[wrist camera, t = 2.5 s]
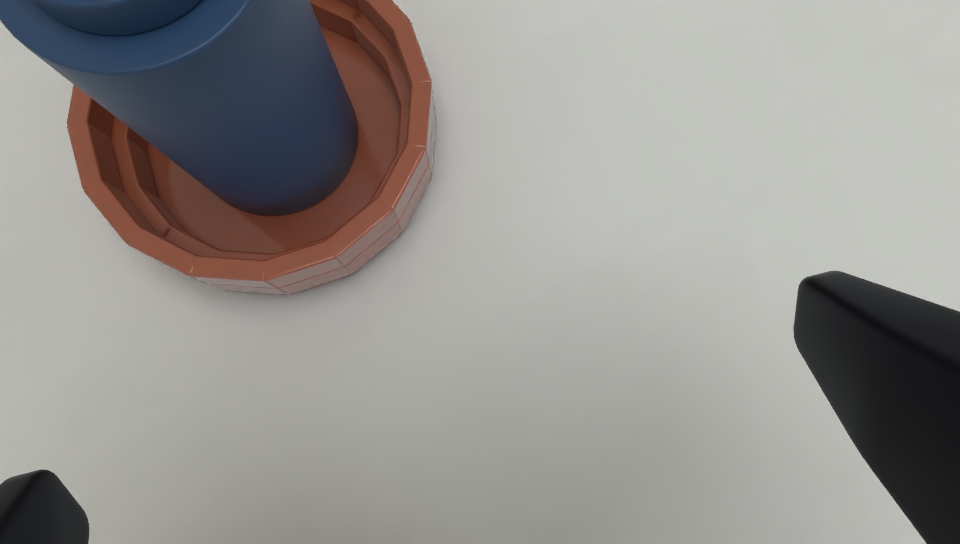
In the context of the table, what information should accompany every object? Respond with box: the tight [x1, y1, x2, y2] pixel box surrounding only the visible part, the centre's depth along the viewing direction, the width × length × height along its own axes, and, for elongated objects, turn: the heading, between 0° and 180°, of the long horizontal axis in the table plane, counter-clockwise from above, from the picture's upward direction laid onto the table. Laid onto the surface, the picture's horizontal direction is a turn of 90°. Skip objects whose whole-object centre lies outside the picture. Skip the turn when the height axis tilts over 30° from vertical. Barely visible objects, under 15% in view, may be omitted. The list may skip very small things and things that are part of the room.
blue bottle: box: [0, 0, 358, 216], centre depth 16 cm, size 5×5×13 cm
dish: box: [67, 0, 436, 295], centre depth 21 cm, size 10×10×3 cm
